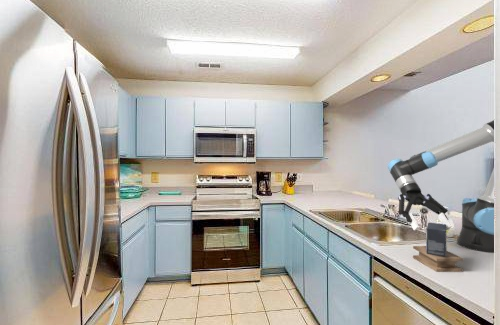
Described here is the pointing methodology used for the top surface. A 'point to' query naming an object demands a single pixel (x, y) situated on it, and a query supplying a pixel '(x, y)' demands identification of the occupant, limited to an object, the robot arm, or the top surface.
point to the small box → (436, 239)
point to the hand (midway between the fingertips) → (432, 228)
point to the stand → (438, 260)
